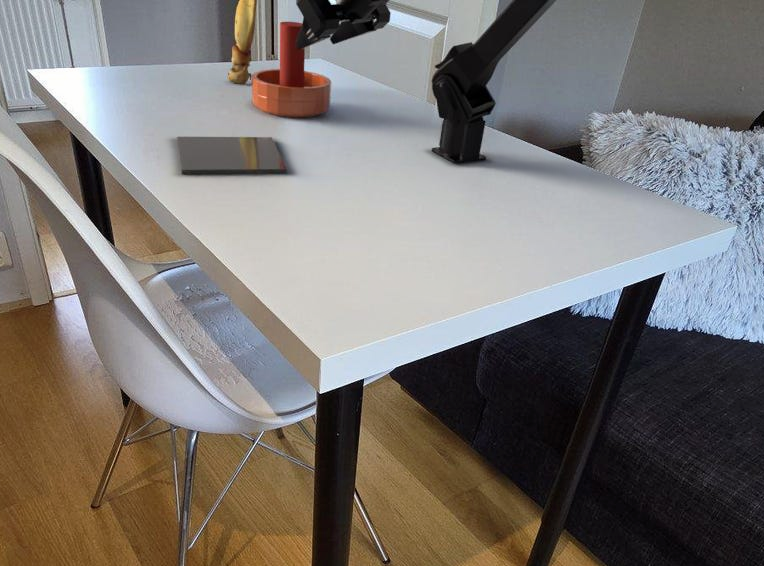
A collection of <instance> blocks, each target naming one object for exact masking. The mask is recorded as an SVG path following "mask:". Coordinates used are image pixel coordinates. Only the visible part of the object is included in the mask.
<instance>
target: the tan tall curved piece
mask: <svg viewBox="0 0 764 566" xmlns="http://www.w3.org/2000/svg"><path fill="white" fill-rule="evenodd" d="M257 3H258V0H239V1H238V4H237V6H236V10H235V18H234V39H235V42H236V44H233V45H232V48H231V52H232V54H231V55H232V57H230V59H231V63H232V67H231V68H229V70H230V71H229V72H227V75H228V76H227V79H228V81H229V83H234V84H238V85H245V84H246V83H247V82H248V80H249V81H252V73H250V72H249V67H250V66H251V61H252V58H251V52H252V50H251V47H252V44H253V41H254V35H255V29H256V12H257Z"/></svg>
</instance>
